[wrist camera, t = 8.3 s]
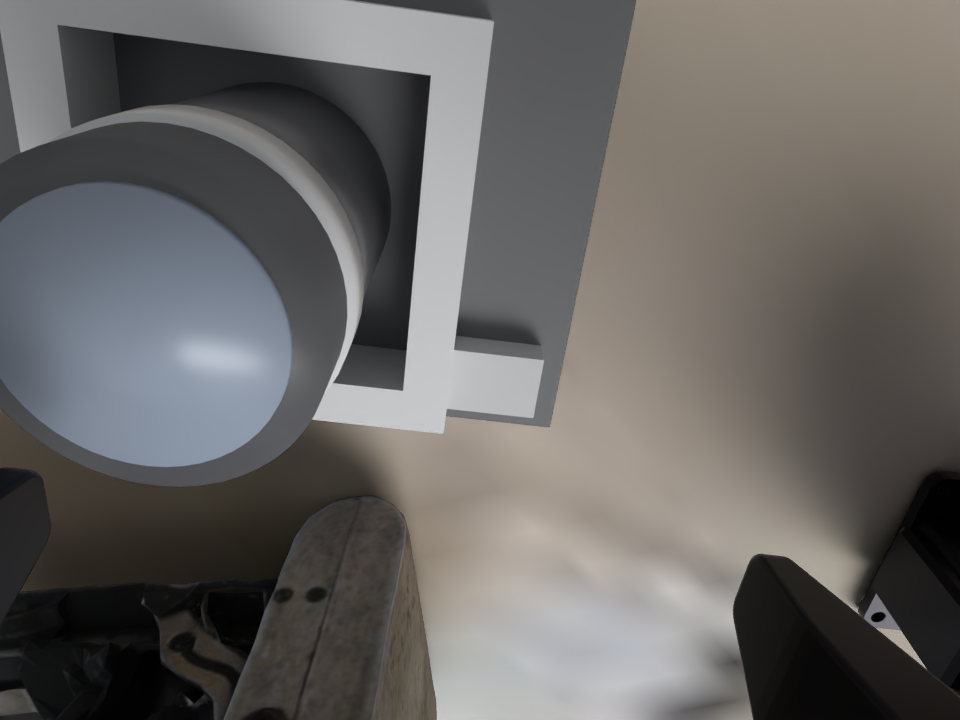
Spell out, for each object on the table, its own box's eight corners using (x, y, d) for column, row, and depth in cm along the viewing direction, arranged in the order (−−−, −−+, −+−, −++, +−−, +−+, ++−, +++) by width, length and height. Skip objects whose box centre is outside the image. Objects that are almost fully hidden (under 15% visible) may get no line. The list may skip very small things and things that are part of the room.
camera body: (611, -2, 16) (660, -5, 12) (540, 373, 21) (557, 473, 16) (-5, -91, 16) (-201, -130, 11) (60, 318, 20) (-61, 407, 16)
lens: (404, 94, 14) (342, 163, 8) (387, 322, 17) (329, 517, 10) (149, 60, 14) (-128, 101, 8) (168, 297, 16) (-33, 481, 10)
